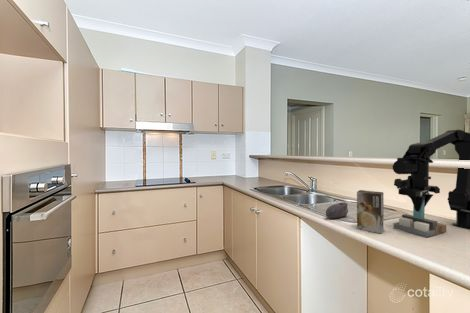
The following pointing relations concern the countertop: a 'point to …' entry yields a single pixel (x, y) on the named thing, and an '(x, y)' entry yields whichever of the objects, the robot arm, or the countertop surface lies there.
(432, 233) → the box
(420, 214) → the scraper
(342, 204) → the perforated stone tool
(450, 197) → the robot arm
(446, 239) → the countertop surface
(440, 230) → the walnut board
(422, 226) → the tile
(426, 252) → the countertop surface
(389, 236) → the countertop surface
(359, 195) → the coffee box
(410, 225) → the tile
